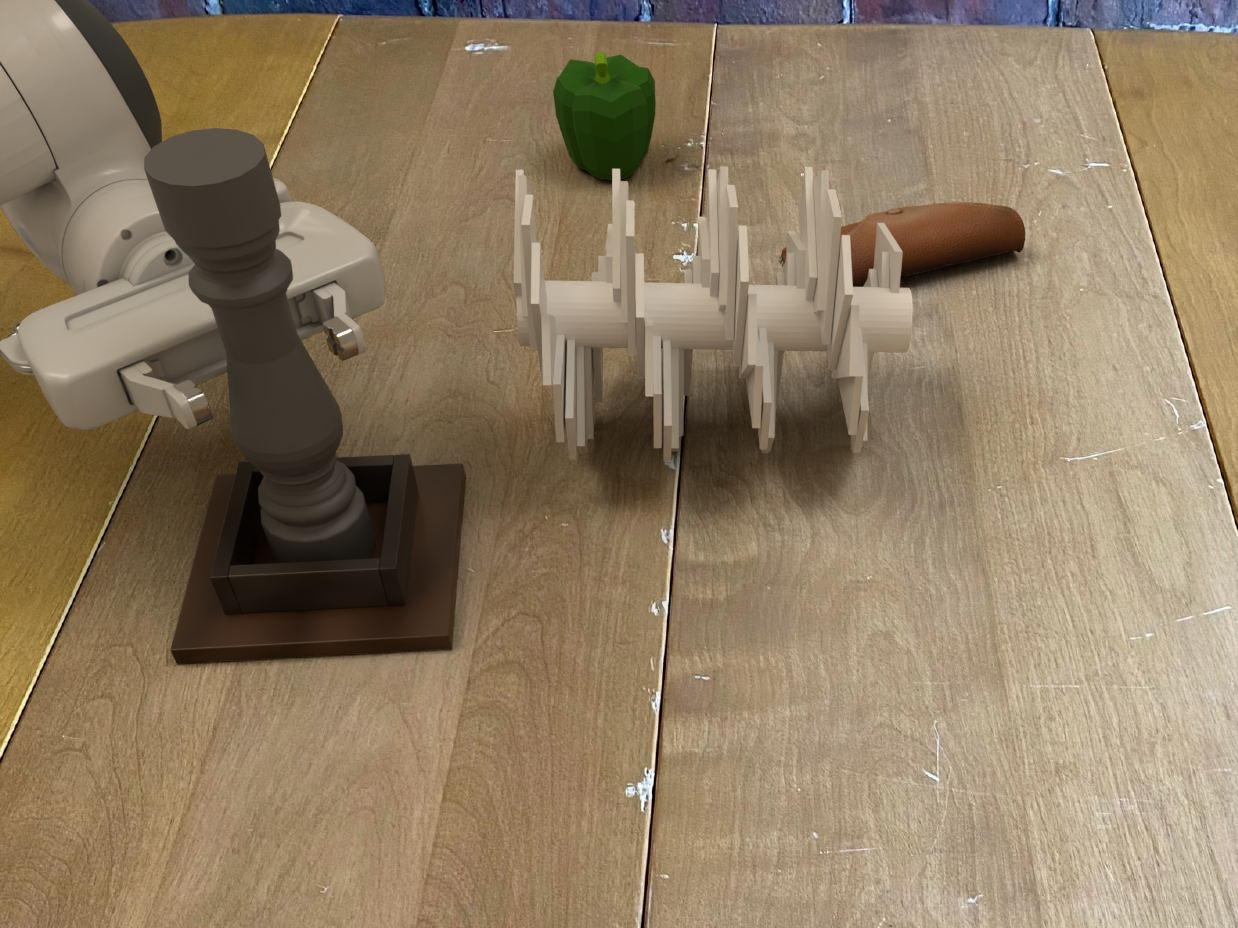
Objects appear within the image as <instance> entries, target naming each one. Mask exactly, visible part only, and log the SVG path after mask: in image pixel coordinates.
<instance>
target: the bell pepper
mask: <svg viewBox="0 0 1238 928" xmlns="http://www.w3.org/2000/svg"><path fill="white" fill-rule="evenodd" d="M552 93H553V102H554V109H555V117H556V120H557V123H558V126H559V129H560V133H561V136H562V139H563V142H564V145H565V147H566V150H567V153H568V155H569V158H570V159H571V160H572V162H573V164H574V165H575V166H576V167H577V168H578V169H581V170H585V171H587V172H588V174H589V175H592V176H593V177H595V178H597V179H599V180H611V181H612V169H620V180H621V179H625V178H626V179H627V178H629V177H630V176H632V174H633V173H635V172H636V171H637V170H638V169H639V167H640V166H641V164H642V162H643V161H644V159H645V158H646V155H647V154H648V153H649V148H650V143H651V140H652V137H653V131H654V125H655V119H656V107H657V106H656V104H657V103H656V81H655V78H654V77H653V75H652V73H651V71H650V69H649V67H644V66H639V65H638V64H636V63H634V62H633V61H632V60H630V59H628V58H627V57H625V56H624V55H622V54H616V55H613V56H607V53H605V52H604V51H597V52H596V53H595V54H594V62H592V61H587V60H579V59H573V58H570V59H569V60H568V62H567V64H566V65H565V66H564V68H563V69H562V71H561V73H560V74H559V75H558V76H557V77H556V80H555V84H554V87H553V91H552Z"/></svg>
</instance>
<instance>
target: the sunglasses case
mask: <svg viewBox="0 0 1238 928" xmlns="http://www.w3.org/2000/svg"><path fill="white" fill-rule="evenodd" d="M877 223H885V225H886V227H887V228H888V230H889V231H890V233H891V234H892V236H893V237H894V239H895V241H896V242H897V244H898V245H899V247H900V248H901V250H902V252H903V254H902V266H901V277H908V276H912V275H916V274H920V273H925V272H926V273H927V272H930V271H933V270H936V269H940V268H944V267H947V266H953V265H958V264H963V263H967V262H970V261H971V262H972V261H975V260H979V259H980V260H981V259H985V258H988V257H993V256H998V255H1002V254H1005V253H1012V252H1016V251H1017V252H1018V253H1017V252H1016V253H1017V254H1020V253H1021V252H1022V251H1023V250H1024V248H1025V243H1026V227H1025V224H1024V220H1023V219H1022V217H1021V215H1020V214H1019V212H1017V210H1015V209H1014V208H1012V207H1009V206H1005V205H1000V204H999V205H997V204H993V203H992V204H990V203H982V202H971V201H970V202H968V201H967V202H965V201H964V202H960V201H959V202H958V201H953V202H936V203H928V204H921V205H908V206H902V207H897V208H891V209H888V210H884V211H879V212H873V213H870V214H868V215H867V216H866V217H865V218H863V220H861V221H858V222H853V223H850V224H846V225H841V235H840V242H841V237H842V235H850V244H851V263H852V282H853V287H863V286H864V284H865V283H866V281H867V279H868V273H869V269H873V268H874V257H875V245H876V232H877ZM839 247H840V246H839ZM786 248H787V246H785V247H783V248H782V250H781V253H780V257H781V260H782V262H783V265H785V261H786Z"/></svg>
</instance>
